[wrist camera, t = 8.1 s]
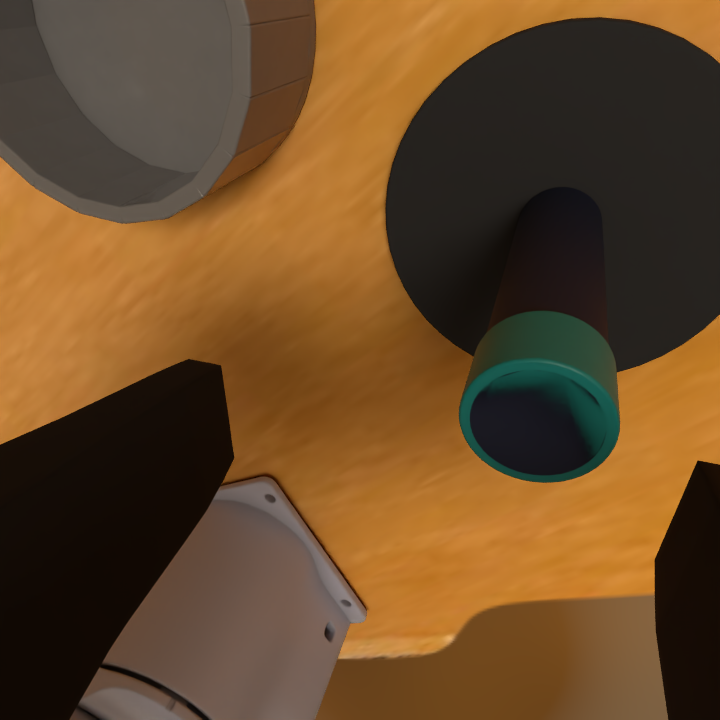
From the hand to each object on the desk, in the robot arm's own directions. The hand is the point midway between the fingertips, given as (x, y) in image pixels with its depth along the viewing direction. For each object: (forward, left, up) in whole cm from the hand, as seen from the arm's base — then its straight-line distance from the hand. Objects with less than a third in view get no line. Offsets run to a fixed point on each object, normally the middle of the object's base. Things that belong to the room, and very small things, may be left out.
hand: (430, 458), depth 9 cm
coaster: (0, -2, -10) cm, 10 cm away
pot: (+10, +6, -10) cm, 16 cm away
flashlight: (0, -2, -10) cm, 10 cm away
